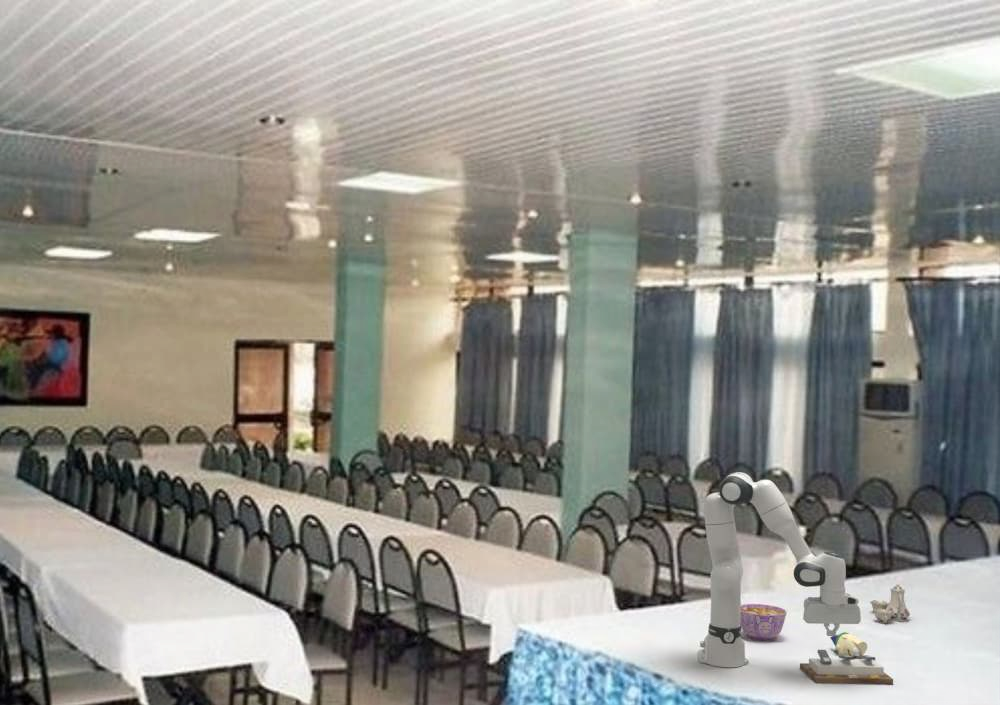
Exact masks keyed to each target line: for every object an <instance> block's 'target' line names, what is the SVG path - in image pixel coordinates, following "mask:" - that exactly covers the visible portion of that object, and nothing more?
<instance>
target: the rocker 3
mask: <svg viewBox="0 0 1000 705" xmlns="http://www.w3.org/2000/svg"><path fill="white" fill-rule="evenodd" d="M859 658H860V659H865V660H874V661H876V656H873V655H867V654H863V655H860V656H859Z"/></svg>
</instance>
